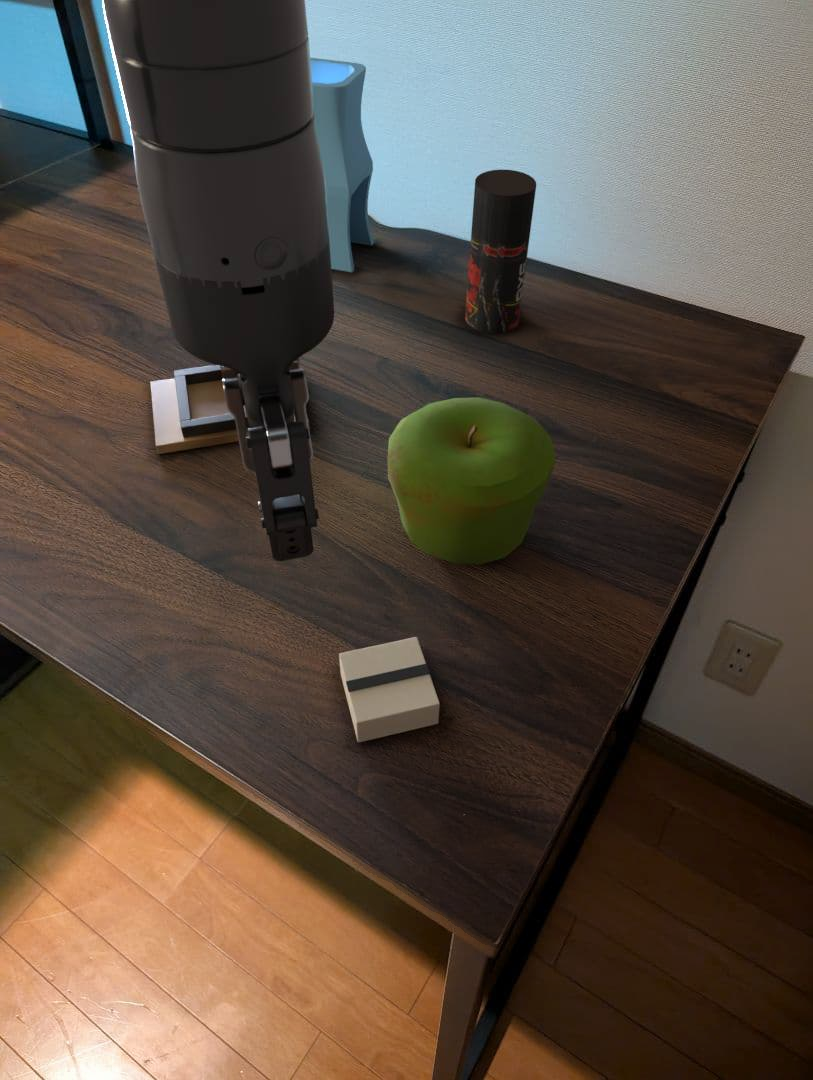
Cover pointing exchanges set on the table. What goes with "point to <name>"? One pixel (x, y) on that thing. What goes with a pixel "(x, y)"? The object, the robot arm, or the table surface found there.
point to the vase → (343, 155)
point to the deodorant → (499, 249)
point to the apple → (468, 477)
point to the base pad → (192, 410)
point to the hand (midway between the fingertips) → (281, 500)
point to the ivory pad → (388, 689)
